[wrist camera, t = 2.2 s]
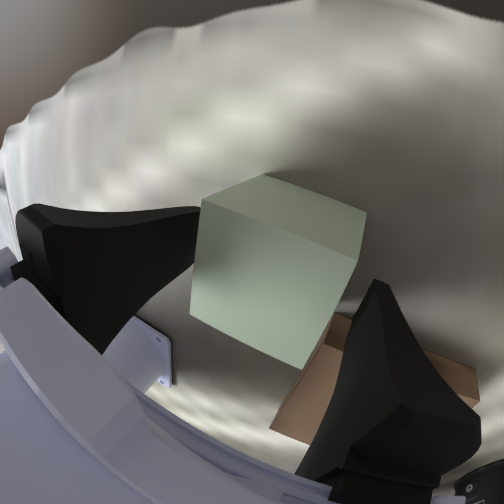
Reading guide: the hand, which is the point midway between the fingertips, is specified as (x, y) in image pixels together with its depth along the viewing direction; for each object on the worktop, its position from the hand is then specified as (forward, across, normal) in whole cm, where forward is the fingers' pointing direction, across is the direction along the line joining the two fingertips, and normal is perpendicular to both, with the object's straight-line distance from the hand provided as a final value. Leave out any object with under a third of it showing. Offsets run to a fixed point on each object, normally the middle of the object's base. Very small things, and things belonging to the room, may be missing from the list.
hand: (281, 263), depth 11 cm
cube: (+3, 0, 0) cm, 3 cm away
